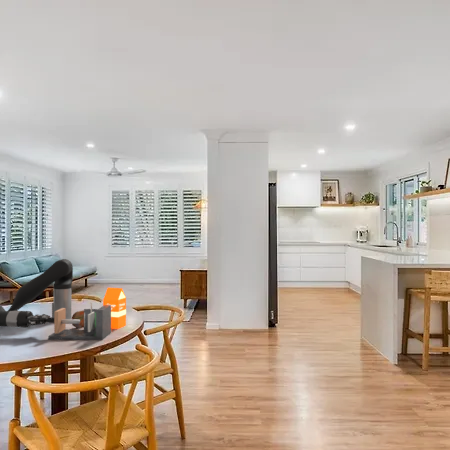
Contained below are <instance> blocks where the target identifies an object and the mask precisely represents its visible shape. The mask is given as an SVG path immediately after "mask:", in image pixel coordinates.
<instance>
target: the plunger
mask: <svg viewBox="0 0 450 450" xmlns="http://www.w3.org/2000/svg"><path fill="white" fill-rule="evenodd" d="M66 324H67V325H68V324H69V325H72V324H80V320H79V319H72V318H71V319H66V308H61V309H59V310H57V311H55V312H54V327H53V329H54V332H53V333H60V332H61V331H63V330H65V329H66Z"/></svg>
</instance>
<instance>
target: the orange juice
mask: <svg viewBox="0 0 450 450" xmlns="http://www.w3.org/2000/svg"><path fill="white" fill-rule="evenodd" d="M102 302H103V303H102V306H104V305H111V330H120V329H122V328H124V327H125V326H127V297H126V295H125V292H124V289H123V288H122V287H121V288H119V287H106V291H105V295H104V296H103V299H102Z"/></svg>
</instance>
